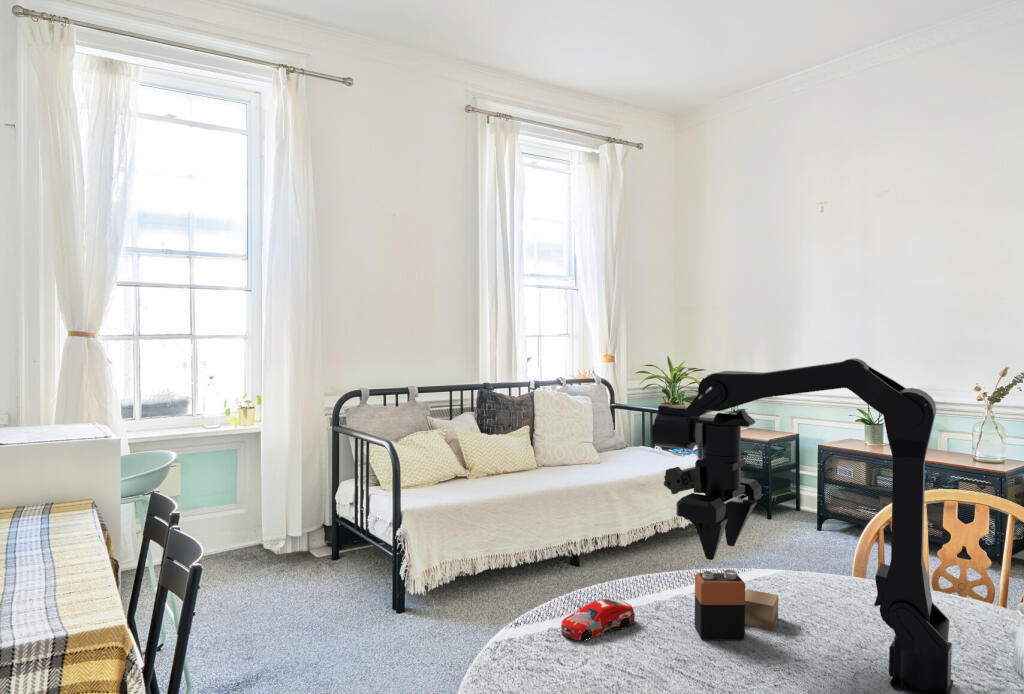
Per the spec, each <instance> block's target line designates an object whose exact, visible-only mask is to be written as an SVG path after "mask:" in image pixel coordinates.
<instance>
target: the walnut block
mask: <svg viewBox="0 0 1024 694" xmlns="http://www.w3.org/2000/svg"><path fill="white" fill-rule="evenodd" d="M778 619H779V595H778V594H774V593H770V592H769V593H768V592H766V591H765V592H763V591H759V590H753V589H748V588H746V589H745V626H746V625H747V626H751V627H752V626H753V627H757V628H761V629H765V630H770V631H773V630H774V629H775V626H776V624H777V622H778Z"/></svg>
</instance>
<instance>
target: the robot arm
mask: <svg viewBox="0 0 1024 694" xmlns="http://www.w3.org/2000/svg"><path fill="white" fill-rule="evenodd" d="M837 389H838V390H840V389H847V390H849V391H850V392H852V393H853V394H855V395H856V396H857V397H858V398H860V399H861V400H862V401H863V402H864V403H866V404H867V405H869V407H871V408H872V409H874V410H875V411H876V412H878V413H879V414H880V415H882V416H883V420H884V425H885V432H886V437H887V441H888V445H889V449H890V452H891V457H892V487H891V488H892V492H891V500H892V501H891V548H890V554H891V556H890V562H889V564H886V563H883V562H880V563H879V566H878V568H877V571H876V574H875V579H874V580H875V585H876V591H877V592H876V593H877V596H875V597H876V598H875V601H874V604H873V606H874V607H878V606H879V612H880V613H879V614H880V617H881V619H882V621H883V622H884V623H885V624H886V625H887V626H888V627H889V628H890V629H891V630H893V632H894V634H895V635H894V638H893V640H892V642H891V643H890V646H889V648H888V651H889V652H888V653H889V654H888V675H889V676H890V678H891V679H890V681H889V686H890V687H892V688H894V689H897V690H899V691H903V692H907V693H909V694H951V692H952V689H953V686H954V680H953V679H952V648H953V645H952V642H950V641H949V633H950V618H949V617H947V616H946V614H944V612H942V610H941V609H940V608H939V607H938V606H937V605H936V604H935V603H934V602H933V597H932V591H931V586H930V579H929V576H928V572H927V567H926V564H925V560H924V537H925V536H924V533H925V532H924V529H925V525H924V524H925V522H924V521H925V483H926V481H925V479H926V478H925V477H926V455H927V452H928V449H929V443H930V439H931V436H932V432H933V431H932V430H933V428H934V424H935V423H934V422H935V419H936V414H937V405H936V403H935V400H934V399H933V397H932V396H931V395H930V394H928V393H927V392H926V391H924V390H921V389H920V388H914V387H909V388H907V387H905V386H903V385H902V384H900V383H898V382H897V381H895V380H894V379H893V378H890V377H888V376H886V375H885V374H883V373H881V372H880V371H878V370H876V369H874V368H873V367H871V366H869V364H867V362H866V361H864V360H862V359H860V358H856V357H855V358H854V357H853V358H848V359H845V360H843V361H836V362H830V363H823V364H816V365H815V364H814V365H808V366H803V367H795V368H788V369H781V370H773V371H768V372H767V371H765V372H759V371H758V372H757V371H746V370H745V371H744V370H742V371H741V370H724V371H718V372H715V373H714V372H713V373H710V374H707V375H705V376H704V377H703V378H702V380H701V381H699V384H698V388H697V394H696V396H695V398H693V400H692V401H691V402H690V403H689V405H688V406H674V405H671V404H662V405H660V404H659V406H657V413H656V416H655V419H654V422H653V426H652V427H651V435H652V441H653V443H654V445H655V447H662V448H670V449H671V448H672V449H679V450H680V449H681V450H690V451H691V450H693V449H694V448H695V446H696V445H700V443H701V445H702V446H701V457H700V458H697V459H696V461H695V463H694V466H692V467H688V468H684V469H682V468H681V467H680V466H675V467H670V468H668V469H667V468H666V469H665V474H664V476H663V477H664V481H663V486H664V487H666V488H667V489H668V490H670V493H671V495H677V494H678V493H680V492H684V491H689V490H693V492H691V493H689V494H686V495H685V496H682V497H681V498H680V499H679V500H678V501H676V516H677V517H681V518H684V519H685V520H688V521H689V522H691V523H692V524H693V525H694V527H695V530H696V532H697V534H698V537H699V541H700V544H701V547H702V550H703V553H704V557H705V559H706V560H709V561H713V560H714V559H715V557H716V554H717V551H718V549H719V546H720V543H721V539H722V538H723V534H724V532H725V539H726V540H725V541H726V545H727V546H729V547H736V543H737V542H738V540H739V537H740V536H741V534H742V532H743V529H744V527H745V525H746V523H747V521H748V519H749V517H750V516H751V513H752V511H753V510H754V508H755V506H756V505H757V501H758V500H760V499H761V498H762V490H763V489H762V485H761V483H759V481H758V480H757V479H752V478H745V477H741V468H743V467H745V466H746V459H745V458H741V453H742V452H741V451H742V450H741V449H742V448H741V445H742V444H741V443H742V442H741V441H742V440H741V438H742V437H741V435H742V434H741V433H742V431H741V429H742V427H743V428H744V427H745V428H749V427H752V426H753V425H755V424H756V421H755V420H756V419H754V418H752V417H751V416H750V415H749V414H748V412H747V411H746V409H743V408H741V409H740V410H738V411H737V412H736V413H728V412H721V411H725V410H728V409H732V408H735V407H738V406H742V405H744V404H748V403H751V402H755V401H757V400H760V399H761V400H762V399H764V398H765V399H766V398H773V397H782V396H789V395H797V394H805V393H813V392H821V391H828V390H837ZM711 412H717V413H716V414H715V415H714V417H706V416H705V417H704V416H703V415H706V414H709V413H711ZM701 416H702V417H701ZM749 497H750V499H751V500H750V499H749Z"/></svg>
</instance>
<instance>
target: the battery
mask: <svg viewBox="0 0 1024 694" xmlns="http://www.w3.org/2000/svg"><path fill="white" fill-rule="evenodd" d="M745 592H746V583H745V582H744V580H743V579H742V578H741V577H740V576H739V574H738V572H737V571H736V570H734V569H724V570H723V571H722V572H713V571H711V570H704V571H703V572H697V573H695V574H694V629H695V630H696V632H697V634H698V636H699V638H700V639H701V640H703V641H743V640H745V638H746V637H745V636H746V624H745Z"/></svg>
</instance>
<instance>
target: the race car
mask: <svg viewBox="0 0 1024 694" xmlns="http://www.w3.org/2000/svg"><path fill="white" fill-rule="evenodd" d="M635 615H636V614H635V611H634V608H633V606H632V605H631V604H629V603H627V602H625V601H623V600H621V599H620V600H619V599H611V598H607V599H606V598H605V599H599V600H597V599H596V600H594V601H591V602H590V603H588V604H585V605H583V607H582V606H581V607H580V606H579V607H578V610H577V611H576V612H574V613H571V614H570V615H568V616H566V617H564V619H562V621H561V630H560V631H561V634H562V635H563V636H565V637H567V638H569V639H571V640H575V641H576V640H577V641H581V642H583V641H584V640H586V639H589V638H590V639H593V638H596V637H599V636H602V635H606V634H608V633H612V632H614V631H618V630H623V629H626V628H625V627H627V628H629V626H631V625H632V624H633V623H634V622H635V618H636V617H635ZM620 628H621V629H620ZM622 628H623V629H622ZM586 641H587V640H586ZM584 642H585V641H584Z"/></svg>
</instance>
